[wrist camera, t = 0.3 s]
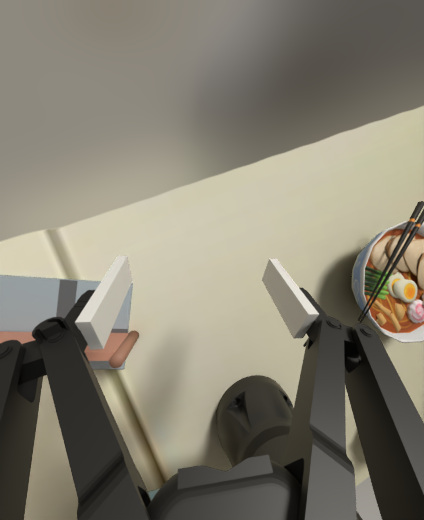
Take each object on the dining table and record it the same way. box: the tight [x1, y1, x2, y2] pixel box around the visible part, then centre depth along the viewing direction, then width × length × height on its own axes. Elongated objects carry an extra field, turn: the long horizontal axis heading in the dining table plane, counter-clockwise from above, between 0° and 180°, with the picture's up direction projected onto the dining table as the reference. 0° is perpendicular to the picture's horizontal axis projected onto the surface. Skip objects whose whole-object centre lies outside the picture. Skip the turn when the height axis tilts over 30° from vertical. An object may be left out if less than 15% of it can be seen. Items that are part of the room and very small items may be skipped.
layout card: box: [0, 275, 133, 369], centre depth 28 cm, size 15×20×1 cm
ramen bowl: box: [352, 201, 424, 343], centre depth 35 cm, size 25×23×8 cm
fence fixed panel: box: [84, 331, 139, 368], centre depth 25 cm, size 2×12×8 cm, turn 85°
